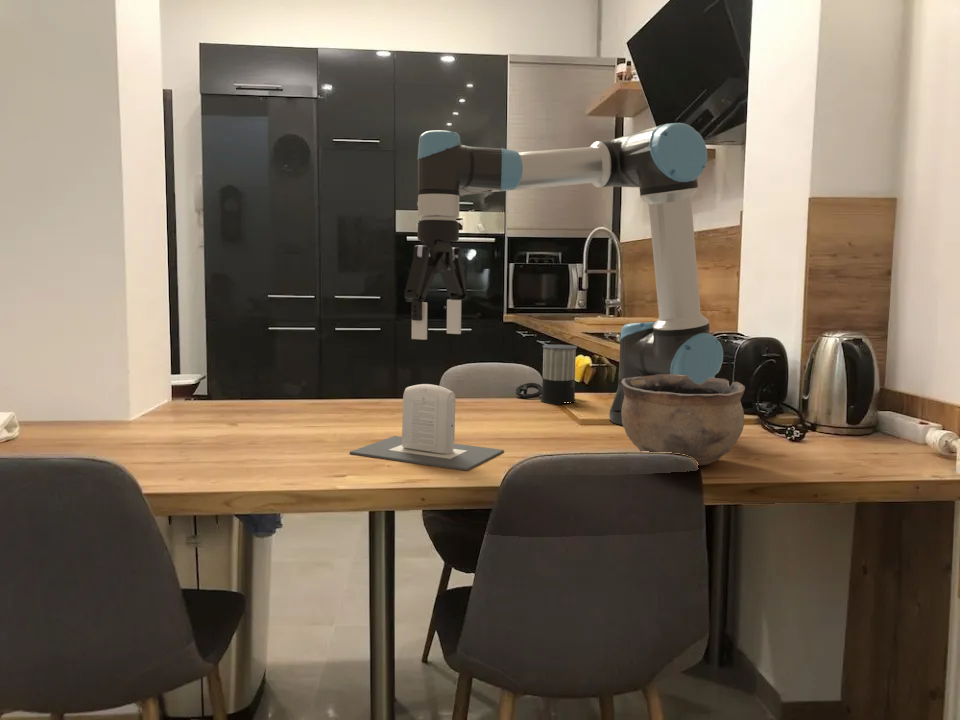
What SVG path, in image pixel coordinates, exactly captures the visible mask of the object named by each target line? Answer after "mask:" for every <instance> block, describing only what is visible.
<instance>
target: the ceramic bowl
mask: <svg viewBox="0 0 960 720" xmlns="http://www.w3.org/2000/svg"><path fill="white" fill-rule="evenodd" d="M621 383H622V387H623V392H624V400H623V404H622V411H621V415H622V424H623V425H622V426H623V428H624V431H625V434H626V436H627V437H628V438H629V440H630V441H631V443H632V444H633V445H634V446H635V447H637V449H638V450H639V451H640V452H641V451H649V452H672V453H680V454H685V455H688V456H691V457H693V458H694V459H695V460H696V461H697V462H698V464H699V466H706V465H710V464H712V463H714V462H716V461H718V460H719V459H721V458H722V457H723V456H725V455H726V454H728V453H729V451H730V450H731V449H732V448H733V447H734V446H735V445H736V444H737V442H738V440H739V438H740V437H741V434H742V433H743V430H744V426H745V412H744V408H743V405H742V402H741V399H742V397H743V395H744V393H745V390H746V386H745V385H743V384H742V382H741V383H740V382H739V381H733V382H731V385H730V381H729V380H728V379H726V378H719V377H717V378H716V377H714V378H713V377H712V378H707V380H706V381H705V382H703V383H702V384H697V383H695V382H693V381H692V380H691V379H690V378H689V376H688V375H675V374H657V375H652V376H643V377H631V378H627V379H622V381H621Z"/></svg>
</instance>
